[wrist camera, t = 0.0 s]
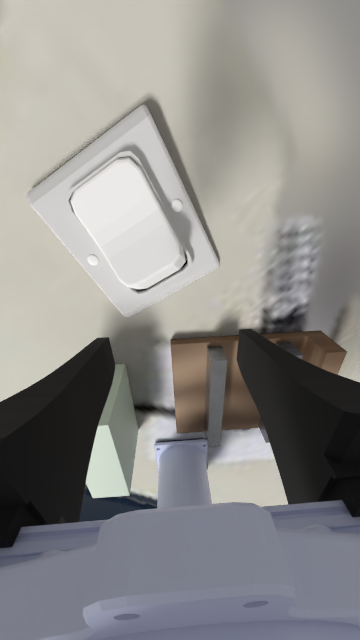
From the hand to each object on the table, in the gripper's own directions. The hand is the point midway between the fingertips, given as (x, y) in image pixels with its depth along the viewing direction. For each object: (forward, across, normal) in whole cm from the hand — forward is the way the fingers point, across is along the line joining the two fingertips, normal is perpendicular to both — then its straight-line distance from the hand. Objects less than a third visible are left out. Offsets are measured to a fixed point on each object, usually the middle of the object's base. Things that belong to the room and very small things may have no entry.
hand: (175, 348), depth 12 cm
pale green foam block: (+10, +8, +15) cm, 20 cm away
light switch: (+11, +3, -5) cm, 12 cm away
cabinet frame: (+10, -8, +14) cm, 19 cm away
